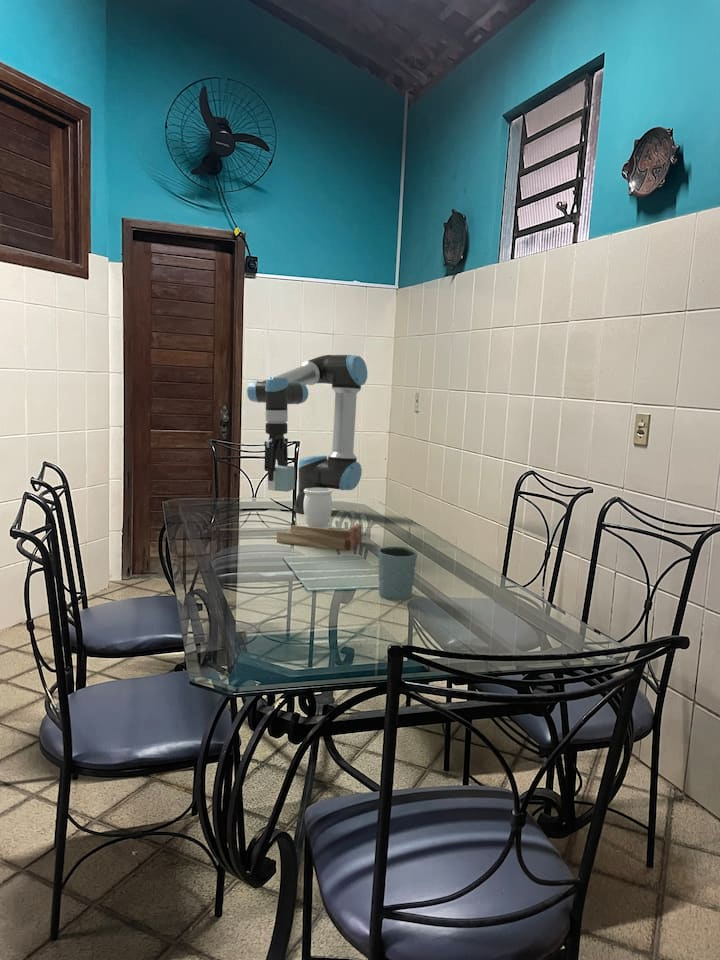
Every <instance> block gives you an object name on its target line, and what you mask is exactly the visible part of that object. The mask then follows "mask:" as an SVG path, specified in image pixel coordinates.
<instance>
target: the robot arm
mask: <svg viewBox="0 0 720 960" xmlns="http://www.w3.org/2000/svg"><path fill="white" fill-rule="evenodd" d="M367 379H368V368H367V364H366V362H365V359H363V358H362V357H361V356H359V355H355V354H353V355H352V354H326V355H320V356H318V357H313V358H312V359H309V360H307V361H304V362H303V363H301V364H300V366H299V367H296V368H293V369H290V370H289V371H286V372H283V373H280V374H279V375H278V374H277V375H276V376H269V377H267V378H266V379H265V380H263V381H262V380H261V381H259V380H256V381H251V382H250V383H249V384H247V388H246V395H247V398H248V400H249V401H251V402H254V403H258V404H259V403H265V412H264V415H265V421H266V423H265V434H267V435H269V436H268V440H264V443H263V444H264V471H265V472H267V490H268V491H273V490H276V471H275V466H276V462H277V466H279V465H281V466H289V459H288V458H289V457H288V456H289V455H288V444H289V443H288V442H289V438H285V435H287V434H288V423H287V422H288V421H289V419H288V417H289V416H288V405H299V404H303V403H305V402H306V401H307V400H308V397H309V389H308V387H307V385H309V386H314V385H316V384H326V385H327V384H328V385H329V384H330V385H331V389H332V390H333V391H334V394H335V395H334V396H335V397H334V412H333V413H334V414H333V430H332V432H333V433H332V449H331V450H332V451H331V453H330V454H328V456H327V455H313V456H312V455H311V456H305V457H301V458H300V459H299V462H298V467H297V469H298V493H297V496H296V498H295V502H294V505H293V511H294V513H295V512H296V513H297V514H298V513H299V514H304V507H303V505H304V497H305V493H304V489H307V488H328V489H331V490H340V491H352V490H355V488H357V487H358V485H359V483H360V481H361V479H362V478H361V477H362V475H363V474H362V473H363V470H362V469H363V468H362V465H361V464H360V462H357V459H358V457H357V456H356V455H355V453H354V447H355V431H356V416H357V415H356V413H357V396H358V395H357V394H358V393H360V391H361V390H362V386H363V385H365V384H366V383H367V381H368V380H367ZM304 515H305V514H304Z"/></svg>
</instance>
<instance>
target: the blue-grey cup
mask: <svg viewBox="0 0 720 960" xmlns="http://www.w3.org/2000/svg"><path fill="white" fill-rule="evenodd" d="M417 558H418V552H417V550H415V549H413V548H409V547H405V546H385V547H383V546H382V547H381V548H379V549H378V583H379V585H378V593H379V594H378V595H379V597H380V598H382V599H384V598H385V599H384V600H389V601H405V600H409V599H410V598H411V597H412V595H413V587H414V586H413V585H414V581H415V579H414V578H415V572H416V569H415V568H416V564H417Z"/></svg>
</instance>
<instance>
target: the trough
mask: <svg viewBox="0 0 720 960" xmlns="http://www.w3.org/2000/svg"><path fill="white" fill-rule="evenodd" d="M361 542H362V524H356V525H354V526H353V527H351V528H350V529H348V530H343V529H342V530H341V529H335V528H334V529H333V528H329V529H325V528H315V527H307V525H306V526H304V525H295V524H291V525H290V532H286V531H277V532H276V543H277V544H286V545H287V544H288V545H297V546H307V547H316V548H323V549H333V550H343V551H350V550H352V549H353V548H354V547H356V546H357V545H359V544H361Z"/></svg>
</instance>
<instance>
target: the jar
mask: <svg viewBox="0 0 720 960" xmlns="http://www.w3.org/2000/svg"><path fill="white" fill-rule="evenodd" d="M304 493H305V497H304V505H303V507H304V519H305V520H304V521H305V523H306V527H315V528H325V529H330V527H329V526H328V524H330V521H331V516H332V510H333V499H332V493H333V489H331V488H307V489H304Z"/></svg>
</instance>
